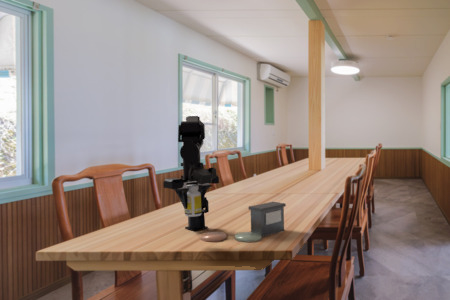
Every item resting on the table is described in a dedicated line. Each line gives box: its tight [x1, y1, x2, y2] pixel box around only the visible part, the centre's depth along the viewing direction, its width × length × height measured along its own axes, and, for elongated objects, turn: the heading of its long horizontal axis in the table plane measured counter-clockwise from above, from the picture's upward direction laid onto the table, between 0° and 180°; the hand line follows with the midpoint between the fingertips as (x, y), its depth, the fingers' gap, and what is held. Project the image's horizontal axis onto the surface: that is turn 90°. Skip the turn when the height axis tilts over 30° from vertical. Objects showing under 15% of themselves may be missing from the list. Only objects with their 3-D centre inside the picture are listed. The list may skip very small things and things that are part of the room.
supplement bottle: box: [184, 184, 202, 218], centre depth 121 cm, size 5×5×10 cm
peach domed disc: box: [199, 231, 227, 243], centre depth 129 cm, size 9×9×1 cm
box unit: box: [248, 201, 287, 238], centre depth 134 cm, size 6×13×10 cm, turn 131°
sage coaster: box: [234, 231, 262, 243], centre depth 127 cm, size 9×9×1 cm
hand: (193, 207), depth 122 cm, fingers closed on supplement bottle, 5 cm apart
